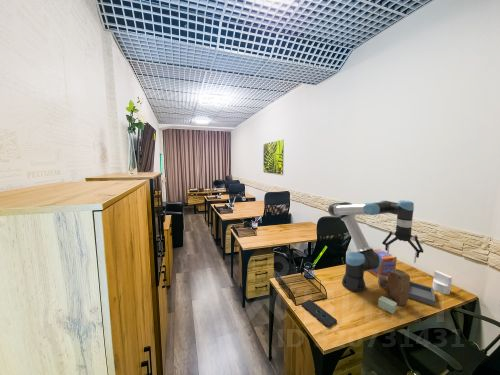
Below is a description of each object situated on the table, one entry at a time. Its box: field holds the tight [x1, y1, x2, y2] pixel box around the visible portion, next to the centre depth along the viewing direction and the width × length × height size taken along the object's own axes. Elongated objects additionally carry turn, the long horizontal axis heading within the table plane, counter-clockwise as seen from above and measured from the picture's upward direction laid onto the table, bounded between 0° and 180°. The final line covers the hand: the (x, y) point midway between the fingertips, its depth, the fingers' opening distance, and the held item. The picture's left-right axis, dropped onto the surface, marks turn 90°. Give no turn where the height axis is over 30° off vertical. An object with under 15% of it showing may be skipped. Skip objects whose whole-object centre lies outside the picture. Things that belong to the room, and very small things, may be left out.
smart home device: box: [301, 299, 338, 329], centre depth 117 cm, size 8×2×20 cm
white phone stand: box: [432, 270, 453, 295], centre depth 138 cm, size 9×9×12 cm
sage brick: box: [377, 295, 398, 315], centre depth 121 cm, size 8×5×5 cm, turn 35°
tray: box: [408, 280, 436, 307], centre depth 134 cm, size 14×17×4 cm
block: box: [386, 268, 411, 306], centre depth 127 cm, size 11×8×20 cm
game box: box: [367, 248, 397, 278], centre depth 161 cm, size 16×16×16 cm
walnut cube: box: [377, 275, 388, 289], centre depth 144 cm, size 6×6×6 cm
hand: (400, 258), depth 125 cm, fingers open, 13 cm apart
